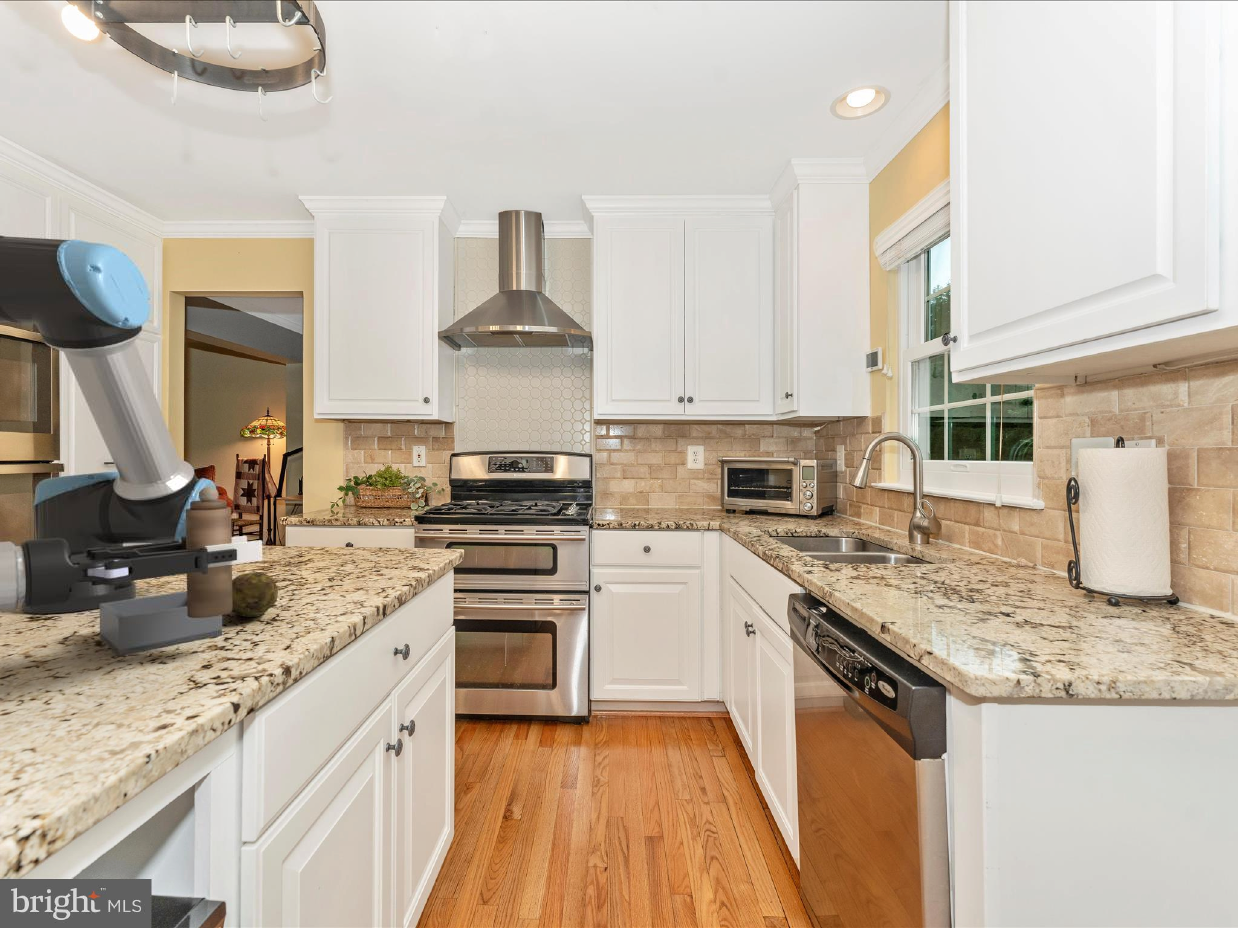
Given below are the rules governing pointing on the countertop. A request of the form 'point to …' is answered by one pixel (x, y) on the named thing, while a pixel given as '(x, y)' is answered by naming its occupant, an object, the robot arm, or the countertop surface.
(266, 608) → the potato
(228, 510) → the pepper mill
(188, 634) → the tub
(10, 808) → the countertop surface
